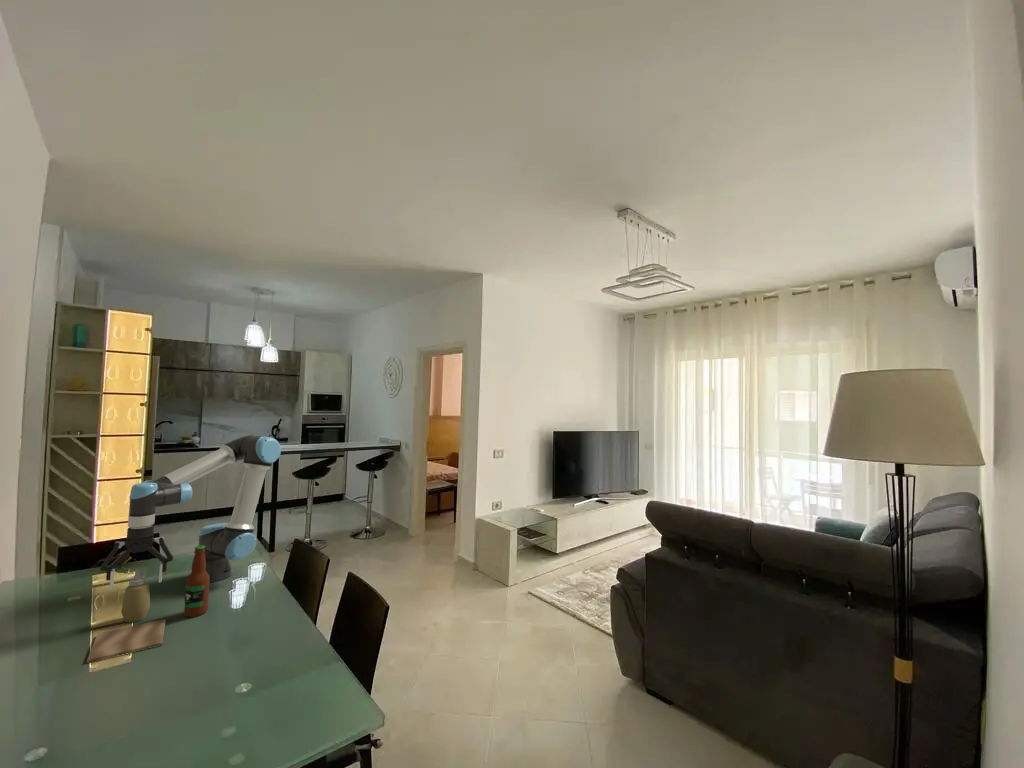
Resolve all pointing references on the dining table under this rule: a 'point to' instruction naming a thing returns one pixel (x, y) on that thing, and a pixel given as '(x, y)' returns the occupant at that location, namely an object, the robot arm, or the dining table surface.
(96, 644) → the walnut board
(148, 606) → the squeeze bottle
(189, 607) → the bottle
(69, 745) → the dining table surface
